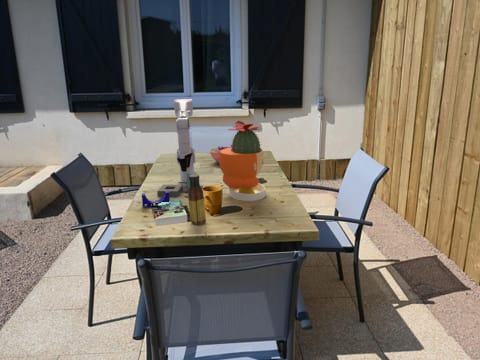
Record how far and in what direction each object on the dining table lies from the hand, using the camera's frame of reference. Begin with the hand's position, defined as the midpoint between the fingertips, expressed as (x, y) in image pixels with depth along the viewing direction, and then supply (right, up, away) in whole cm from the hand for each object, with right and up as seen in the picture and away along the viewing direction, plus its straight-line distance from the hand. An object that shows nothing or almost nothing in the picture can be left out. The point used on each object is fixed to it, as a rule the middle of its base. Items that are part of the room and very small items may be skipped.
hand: (185, 169), depth 205 cm
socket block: (-7, -12, -2) cm, 14 cm away
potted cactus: (+28, -12, -7) cm, 32 cm away
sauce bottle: (+10, -23, -40) cm, 47 cm away
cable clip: (-11, -17, -18) cm, 27 cm away
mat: (+3, -10, +2) cm, 11 cm away
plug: (+3, -10, +2) cm, 10 cm away
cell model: (+18, +5, +55) cm, 58 cm away
